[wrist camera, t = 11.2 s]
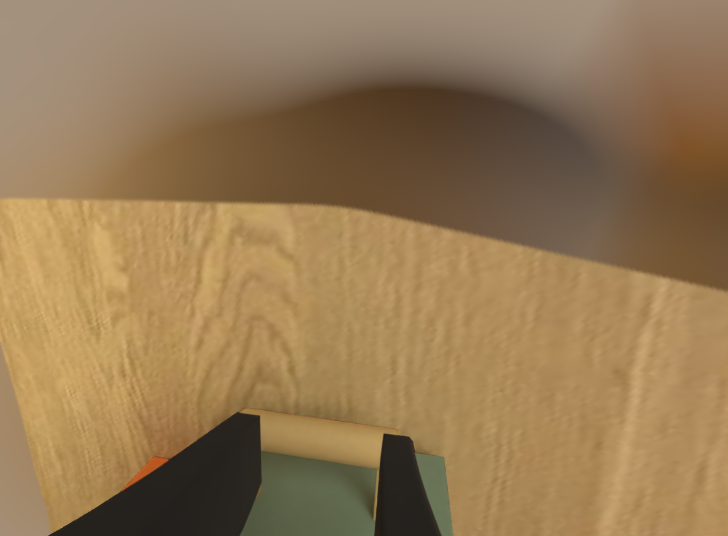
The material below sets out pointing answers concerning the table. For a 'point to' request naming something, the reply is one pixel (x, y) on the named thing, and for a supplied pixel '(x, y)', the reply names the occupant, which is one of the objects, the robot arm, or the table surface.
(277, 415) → the drawer
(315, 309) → the table surface
